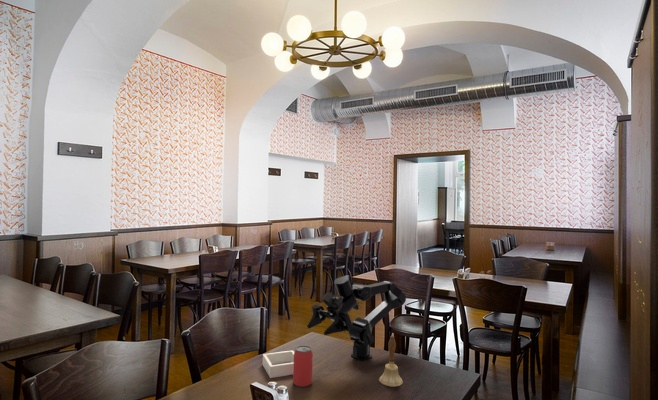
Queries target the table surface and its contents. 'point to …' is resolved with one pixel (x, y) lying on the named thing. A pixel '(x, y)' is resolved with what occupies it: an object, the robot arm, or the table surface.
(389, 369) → the hand bell
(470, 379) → the table surface
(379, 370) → the table surface
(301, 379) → the beer can
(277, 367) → the box
